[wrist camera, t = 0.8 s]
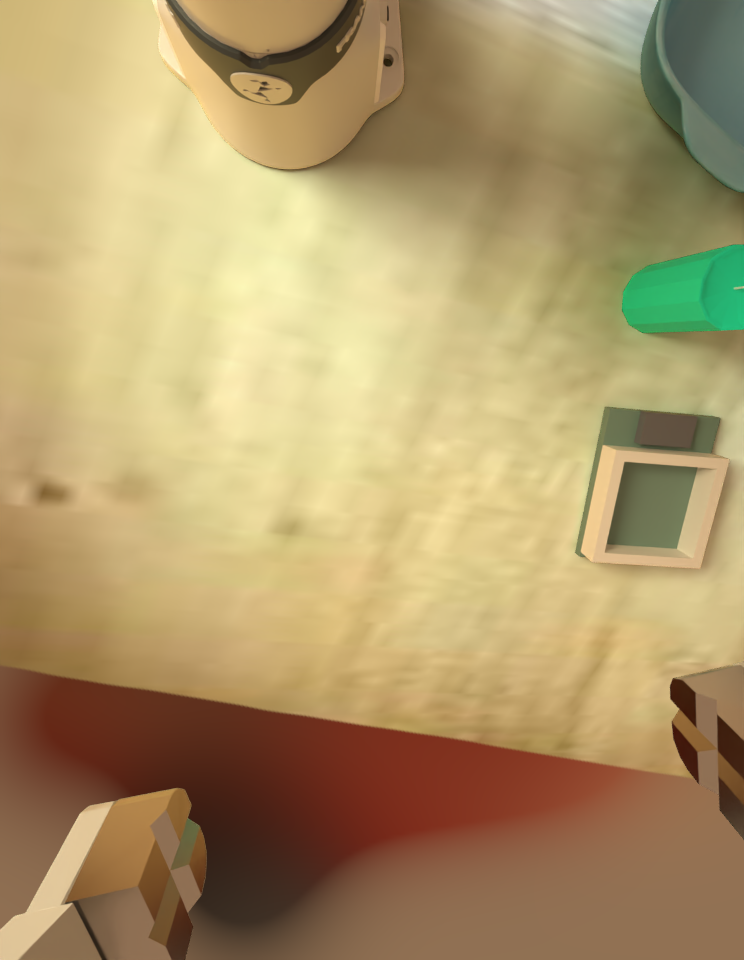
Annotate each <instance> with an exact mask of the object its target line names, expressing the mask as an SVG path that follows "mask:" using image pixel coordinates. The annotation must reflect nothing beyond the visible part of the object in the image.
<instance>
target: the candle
mask: <svg viewBox="0 0 744 960" xmlns="http://www.w3.org/2000/svg"><path fill="white" fill-rule="evenodd" d="M622 311H623V313H624V315H625V317H626V319H627V322H628V324H629V325H630V326H632V327H634V328H635V329H637V330H639V331H640V332H642V333H654V332H688V331H721V330H743V329H744V245H730V246H726V247H722V248H718V249H714V250H710V251H706V252H702V253H698V254H694V255H690V256H686V257H681V258H677V259H673V260H669V261H665V262H661V263H657V264H653V265H649V266H647V267H645V268H644V269H642V270H641V271H639V272H638V273H636V274H635V275H633V276H632V278H631V280H630V281H629V283H628V285H627V286H626V288H625V290H624V291H623V303H622Z"/></svg>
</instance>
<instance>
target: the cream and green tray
mask: <svg viewBox="0 0 744 960" xmlns="http://www.w3.org/2000/svg"><path fill="white" fill-rule="evenodd" d="M719 422H720V418H719V417H714V416H704V415H692V414H681V413H670V412H658V411H647V410H635V409H624V408H613V407H605V410H604V415H603V420H602V424H601V429H600V434H599V439H598V444H597V449H596V454H595V459H594V464H593V468H592V473H591V478H590V483H589V488H588V493H587V498H586V503H585V508H584V512H583V517H582V522H581V527H580V532H579V537H578V542H577V547H576V552H575V553H576V554H577V555H578V556H580V557H587V558H588V559H589V560H590V561H592V562H598V563H614V564H631V565H647V566H663V567H680V568H696V569H700V567H701V564H702V560H703V556H704V553H705V549H706V545H707V542H708V538H709V534H710V531H711V527H712V523H713V520H714V516H715V512H716V509H717V505H718V501H719V498H720V494H721V490H722V487H723V483H724V479H725V476H726V472H727V468H728V465H729V461H730V459H728V458H724V457H721V456H718V455H714V454H711V452H712V448H713V445H714V441H715V437H716V433H717V429H718V426H719Z"/></svg>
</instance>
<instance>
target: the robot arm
mask: <svg viewBox="0 0 744 960" xmlns="http://www.w3.org/2000/svg"><path fill="white" fill-rule="evenodd" d="M153 4H154V8H155V10H156V13H157V15H158V18H159V20H160V22H161V26H160V32H159V39H158V49H159V52H160V55H161V57H162V60H163V62H164V64H165V65H166V66H167V68H168V69H169V70H170V71H171V72H172V73H173V74H174V75H175V76H176V77H177V78H178V79H179V80H181V81H182V82H183V83H184V84H185V85H186V86H188V87H189V88H190V89H191V90H192V92H193V93H194V94H195V96H196V98H197V99H198V101H199V103H200V105H201V107H202V109H203V110H204V112H205V114H206V116H207V118H208V119H209V121H210V123H211V124H212V125H213V127H214V128H215V130H216V131H217V132H218V133H219V135H220V136H221V137H222V138H223V139H224V140H225V141H226V142H227V143H228V144H229V145H230V146H231V147H233V148H234V149H235V150H236V151H238V152H239V153H241V154H242V155H244V156H245V157H247V158H249V159H251V160H253V161H255V162H257V163H260V164H262V165H265V166H269V167H273V168H279V169H301V168H307V167H311V166H314V165H317V164H320V163H322V162H324V161H326V160H328V159H330V158H331V157H333V156H335V155H336V154H337V153H339V152H340V151H341V150H342V149H343V148H345V147H346V146H347V145H348V144H349V143H350V142H351V140H352V139H353V138H354V137H355V136H356V134H357V133H358V131H359V130H360V128H361V127H362V126H363V124H364V123H365V121H366V120H367V119H368V118H369V117H370V116H371V115H372V114H373V113H374V112H376V111H378V110H379V109H381V108H383V107H385V106H386V105H388V104H389V103H391V102H392V101H394V100H395V99H396V98H397V97H398V96H399V95H400V94H401V92H402V90H403V86H404V65H403V52H402V38H401V24H400V11H399V0H153ZM384 59H390V60H391V61H392V63H393V64H392V66H390V67H386V66H385V65H384V64H383V60H384ZM670 699H671V700H672V701H673V702H674V704H675V705H676V706H677V707H678V708H679V711H678V712H677V714H676V716H675V717H674V719H673V720H672V730H673V739H674V742H675V745H676V747H677V750H678V753H679V755H680V758H681V759H682V761H683V763H684V764H685V766H686V768H687V770H688V771H689V772H690V774H691V775H692V776H693V777H694V779H695V780H696V781H697V783H698V784H699V785H701V786H703V787H705V788H707V789H709V790H710V791H712V792H714V793H716V794H718V795H719V808H720V811H721V812H722V814H723V815H724V816H725V817H726V819H727V820H728V821H729V822H730V824H731V825H732V826H733V827H734V828H735V830H736V831H737V832H738V833H739V835H740V836H741V837H742V838H743V839H744V662H740V663H735V664H733V665H728V666H724V667H720V668H715V669H711V670H707V671H702V672H698V673H694V674H689V675H685V676H681V677H676V678H673V679H672V682H671V685H670ZM190 808H191V803H190V801H189V799H188V796H187V794H186V792H185V790H184V789H179V788H175V789H170V790H165V791H160V792H155V793H149V794H144V795H139V796H134V797H129V798H124V799H119V800H118V801H113V802H108V803H102V804H97V805H91V806H89V807H87V808H86V809H85V810H84V811H83V812H81V813H80V815H79V816H78V818H77V820H76V822H75V824H74V825H73V827H72V829H71V831H70V833H69V834H68V836H67V838H66V840H65V842H64V844H63V846H62V847H61V849H60V851H59V853H58V855H57V856H56V858H55V860H54V862H53V864H52V866H51V867H50V869H49V871H48V873H47V875H46V877H45V878H44V880H43V882H42V884H41V886H40V888H39V889H38V891H37V893H36V895H35V897H34V899H33V900H32V902H31V904H30V906H29V908H28V910H27V911H26V913H24V914H20V915H16V916H14V917H13V918H12V919H11V920H10V921H9V922H8V923H7V924H6V925H5V926H4V927H3V928H2V929H1V930H0V960H185V959H186V955H187V951H188V947H189V943H190V939H191V935H192V930H193V925H192V923H191V920H190V918H189V915H188V912H189V910H190V909H191V908H192V906H193V905H194V904H195V902H196V901H197V900H198V899H199V897H200V896H201V894H202V889H203V885H204V880H205V876H206V856H207V853H206V847H205V841H204V836H203V834H202V831H201V828H200V826H198V825H197V824H196V823H194V822H192V821H191V820H189V819H188V815H189V811H190Z"/></svg>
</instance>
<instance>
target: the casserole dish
mask: <svg viewBox="0 0 744 960" xmlns="http://www.w3.org/2000/svg"><path fill="white" fill-rule="evenodd" d="M641 79H642V84H643V88H644V91H645V94H646V97H647V98H648V100H649V102H650V104H651V105H652V107H653V108H654V110H655V111H656V113H657V114H658V115H659V116H660V117H661V118H662V119H663V120H664V121H665V122H666V123H667V124H668V125H669V126H670V127H671V128H672V129H674V130H675V131H676V132H677V133H678V134H679V135H680V136H681V137H683V139H684V142H685V145H686V147H687V149H688V151H689V153H690V154H691V156H692V157H693V158H694V159H695V160H696V161H697V162H698V163H699V164H700V165H701V166H702V167H703V168H704V169H705V170H706V171H707V172H708V173H710V174H711V175H712V176H713V177H715V178H716V179H717V180H718V181H719V182H721V183H722V184H724V185H725V186H726V187H728V188H730V189H732V190H734V191H737V192H741V193H744V0H658V2H657V5H656V7H655V10H654V12H653V14H652V17H651V20H650V23H649V26H648V29H647V32H646V36H645V40H644V44H643V48H642V54H641Z"/></svg>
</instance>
